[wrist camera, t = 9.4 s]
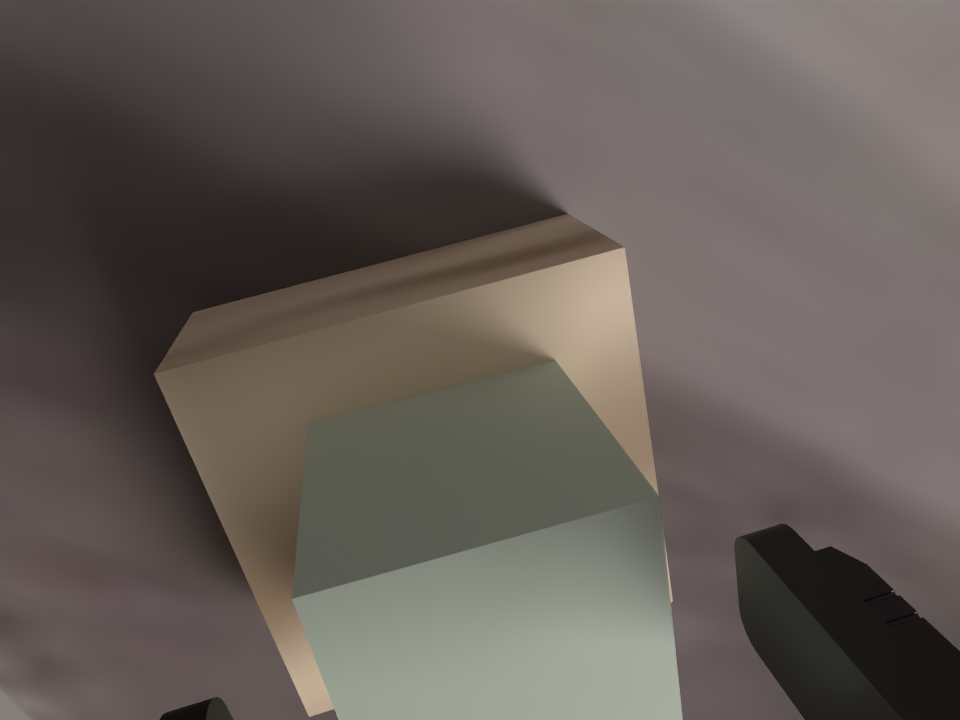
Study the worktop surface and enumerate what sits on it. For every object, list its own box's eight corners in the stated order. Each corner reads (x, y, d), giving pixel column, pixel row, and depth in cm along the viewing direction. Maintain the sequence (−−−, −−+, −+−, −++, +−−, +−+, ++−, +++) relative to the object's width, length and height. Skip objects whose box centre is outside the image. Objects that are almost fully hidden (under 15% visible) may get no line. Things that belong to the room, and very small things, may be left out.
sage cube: (308, 423, 14) (291, 599, 9) (555, 360, 14) (659, 496, 9) (372, 617, 16) (385, 842, 11) (587, 556, 16) (685, 747, 11)
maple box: (195, 307, 16) (153, 373, 13) (563, 210, 17) (624, 246, 13) (314, 599, 20) (309, 716, 16) (613, 509, 21) (672, 602, 17)
